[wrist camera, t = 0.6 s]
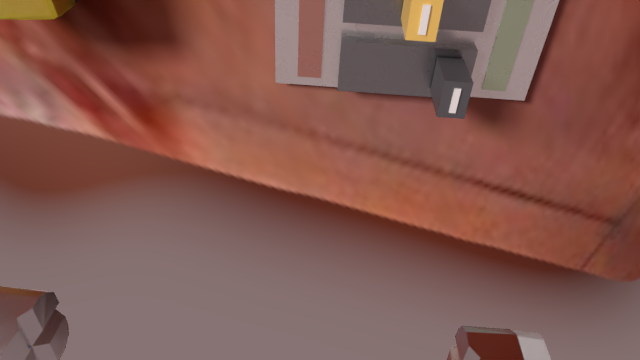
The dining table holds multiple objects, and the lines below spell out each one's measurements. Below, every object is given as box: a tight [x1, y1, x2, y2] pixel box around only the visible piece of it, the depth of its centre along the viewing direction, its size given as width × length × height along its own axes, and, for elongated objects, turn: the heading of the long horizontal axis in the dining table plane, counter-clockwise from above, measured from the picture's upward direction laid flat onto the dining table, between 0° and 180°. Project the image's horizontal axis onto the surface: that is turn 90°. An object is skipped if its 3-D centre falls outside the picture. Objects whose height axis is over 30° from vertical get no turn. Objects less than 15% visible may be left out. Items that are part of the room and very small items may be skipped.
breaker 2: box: [430, 57, 474, 119], centre depth 45 cm, size 4×2×5 cm
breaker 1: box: [401, 0, 444, 42], centre depth 41 cm, size 4×2×5 cm
